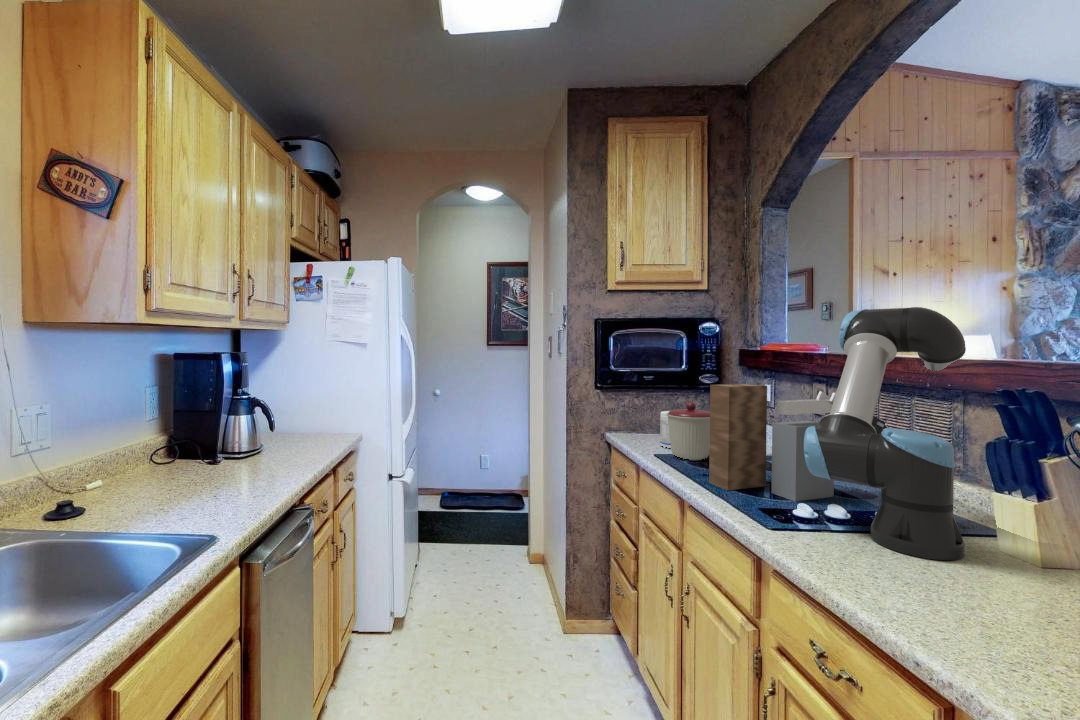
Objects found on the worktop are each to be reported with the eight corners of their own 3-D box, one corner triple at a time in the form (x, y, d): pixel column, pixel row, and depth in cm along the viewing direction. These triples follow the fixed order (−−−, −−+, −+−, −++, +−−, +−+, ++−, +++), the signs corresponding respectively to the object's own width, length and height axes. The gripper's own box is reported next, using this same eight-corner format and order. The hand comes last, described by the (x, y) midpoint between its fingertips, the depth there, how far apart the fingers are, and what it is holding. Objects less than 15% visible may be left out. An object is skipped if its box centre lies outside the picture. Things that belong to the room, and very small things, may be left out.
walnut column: (745, 479, 147) (746, 384, 146) (765, 486, 139) (767, 385, 139) (709, 483, 142) (710, 384, 142) (727, 490, 135) (729, 386, 134)
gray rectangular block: (808, 488, 137) (809, 420, 137) (833, 496, 130) (834, 424, 129) (771, 493, 132) (772, 422, 132) (795, 501, 125) (796, 427, 125)
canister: (686, 465, 165) (687, 405, 165) (656, 454, 182) (656, 400, 182) (726, 461, 172) (727, 404, 172) (693, 451, 189) (693, 399, 188)
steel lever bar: (842, 409, 138) (842, 397, 138) (853, 411, 135) (853, 399, 135) (776, 413, 130) (777, 400, 130) (787, 415, 126) (787, 402, 126)
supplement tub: (668, 443, 204) (669, 410, 204) (688, 447, 197) (688, 412, 197) (655, 446, 198) (655, 411, 198) (674, 450, 191) (674, 414, 190)
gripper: (899, 449, 132) (848, 411, 125) (843, 439, 148) (795, 404, 141) (908, 426, 133) (858, 386, 126) (852, 418, 149) (805, 382, 142)
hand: (825, 396), depth 133 cm, fingers closed on steel lever bar, 3 cm apart
